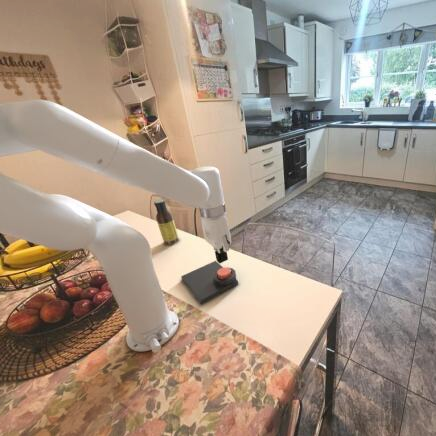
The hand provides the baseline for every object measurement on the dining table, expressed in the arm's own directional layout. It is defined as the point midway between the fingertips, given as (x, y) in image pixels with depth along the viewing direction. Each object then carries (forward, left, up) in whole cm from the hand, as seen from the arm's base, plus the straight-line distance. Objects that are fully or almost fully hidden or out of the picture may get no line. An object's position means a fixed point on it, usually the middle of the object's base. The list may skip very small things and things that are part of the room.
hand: (222, 260), depth 80 cm
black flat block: (+4, +4, -9) cm, 11 cm away
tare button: (0, 0, -6) cm, 6 cm away
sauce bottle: (+42, +4, -9) cm, 43 cm away
